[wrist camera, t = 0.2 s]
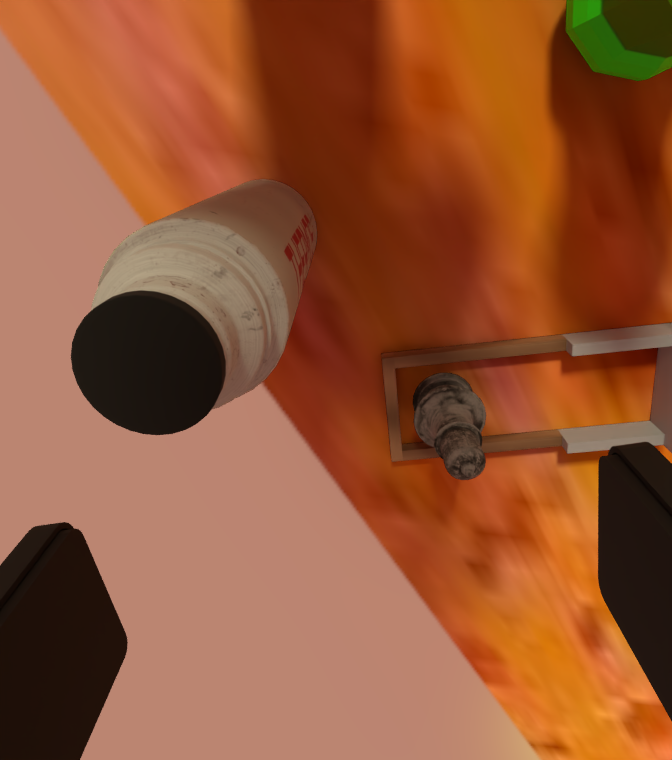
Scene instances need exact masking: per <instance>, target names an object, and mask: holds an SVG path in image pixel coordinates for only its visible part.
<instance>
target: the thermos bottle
mask: <svg viewBox="0 0 672 760" xmlns="http://www.w3.org/2000/svg"><path fill="white" fill-rule="evenodd" d="M316 243H317V227H316V221H315V218H314V215H313V212H312V210H311V209H310V207H309V205H308V203H307V202H306V201H305V199H304V198H303V197H302V196H301V195H300V194H299V193H298V192H297V191H295V190H294V189H293V188H291V187H289V186H288V185H286V184H284V183H281V182H278V181H275V180H267V179H259V180H252V181H249V182H246V183H243V184H241V185H238V186H236V187H234V188H231V189H229V190H227V191H224V192H222V193H220V194H217V195H215V196H213V197H210V198H208V199H206V200H204V201H201V202H199V203H197V204H194V205H192V206H190V207H187V208H185V209H183V210H181V211H178V212H176V213H174V214H171V215H169V216H167V217H164V218H162V219H160V220H157V221H155V222H153V223H150V224H148V225H146V226H144V227H142V228H141V229H139V230H137V231H136V232H134V233H133V234H131V235H129V236H128V237H127V238H126V239H125V240H124V241H123V242H122V243H121V244H120V245H119V246H118V247H117V248H116V249H115V250H114V251H113V253H112V255H111V256H110V258H109V259H108V261H107V263H106V264H105V266H104V269H103V272H102V275H101V278H100V281H99V285H98V289H97V291H96V294H95V297H94V300H93V303H92V310H91V312H90V313H88V315H86V316H85V317H84V319H83V320H82V322H81V323H80V325H79V327H78V328H77V330H76V333H75V336H74V339H73V342H72V350H71V360H72V369H73V372H74V375H75V378H76V381H77V384H78V386H79V388H80V389H81V391H82V393H83V395H84V396H85V397H86V399H87V400H88V401H89V402H90V404H91V405H92V406H93V407H94V408H95V409H96V410H97V411H98V412H99V413H101V414H102V415H103V416H104V417H105V418H107V419H108V420H110V421H112V422H113V423H115V424H116V425H118V426H121V427H123V428H126V429H128V430H130V431H135V432H138V433H142V434H151V435H164V434H173V433H176V432H180V431H183V430H186V429H188V428H190V427H192V426H193V425H195V424H197V423H198V422H199V421H201V420H202V419H203V418H204V417H205V416H207V414H208V413H209V412H210V410H211V409H215V408H218V407H220V406H222V405H224V404H226V403H228V402H230V401H232V400H233V399H234V398H237V397H239V396H241V395H243V394H245V393H247V392H249V391H251V390H253V389H254V388H255V387H256V386H258V385H259V384H260V383H261V382H263V381H264V380H265V379H266V378H267V377H268V376H269V374H270V373H271V372H272V371H273V369H274V368H275V367H276V366H277V364H278V362H279V360H280V358H281V356H282V354H283V352H284V350H285V346H286V343H287V340H288V337H289V333H290V330H291V327H292V323H293V320H294V317H295V313H296V310H297V307H298V304H299V300H300V297H301V293H302V289H303V286H304V282H305V279H306V277H307V274H308V271H309V267H310V264H311V261H312V257H313V254H314V251H315V247H316Z"/></svg>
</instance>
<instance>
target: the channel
mask: <svg viewBox="0 0 672 760" xmlns="http://www.w3.org/2000/svg"><path fill="white" fill-rule="evenodd" d="M566 346H567V339H566V338H565V337H564V336H563V335H562V334H560V335H551V336H542V337H532V338H523V339H513V340H504V341H494V342H485V343H476V344H466V345H457V346H447V347H438V348H428V349H419V350H410V351H400V352H391V353H381V357H382V367H383V378H384V388H385V399H386V409H387V420H388V430H389V440H390V451H391V459H392V462H394V461H405V460H416V459H426V458H437V457H440V456H439V455H438V454H437V452H436V450H435V448H433V447H431V446H430V445H428V444H426V443H425V442H420V443H409V444H401V432H400V421H399V409H398V398H397V386H396V374H395V368H405V367H414V366H424V365H434V364H443V363H453V362H462V361H472V360H482V359H491V358H501V357H510V356H520V355H530V354H539V353H549V352H558V351H566ZM482 440H483V441H482V446H481V448H482V450H483V453H491V452H502V451H513V450H523V449H534V448H545V447H556V446H562V435H561V433H560V432H559V431H558V429H557V430H546V431H536V432H525V433H515V434H504V435H494V436H483V437H482Z"/></svg>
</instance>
